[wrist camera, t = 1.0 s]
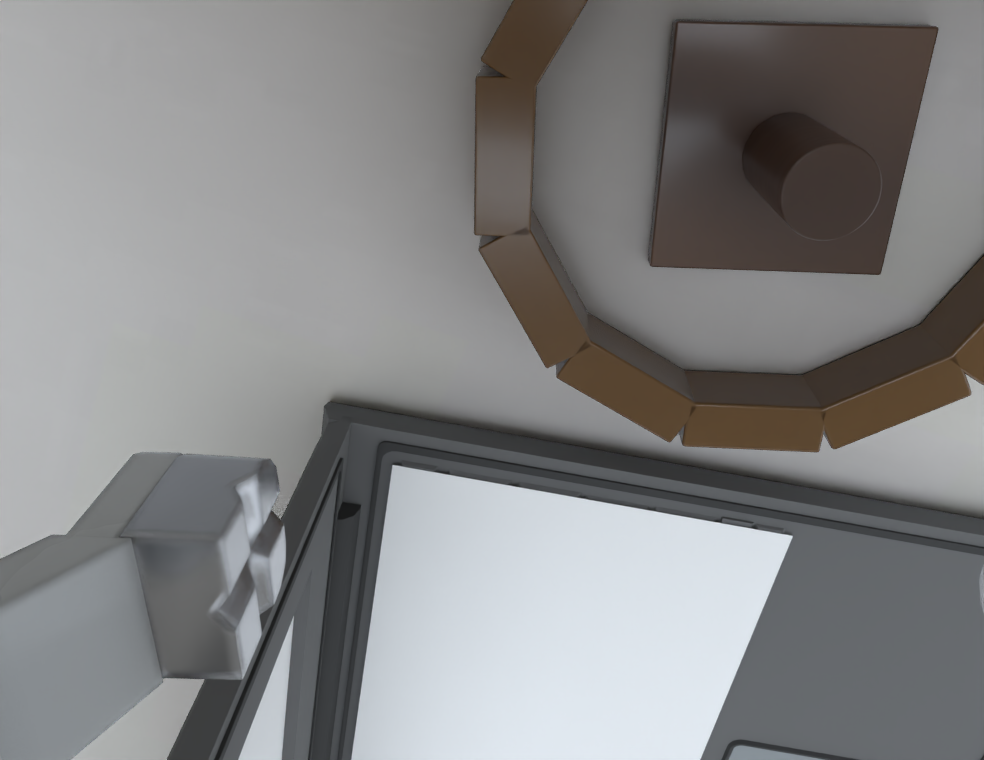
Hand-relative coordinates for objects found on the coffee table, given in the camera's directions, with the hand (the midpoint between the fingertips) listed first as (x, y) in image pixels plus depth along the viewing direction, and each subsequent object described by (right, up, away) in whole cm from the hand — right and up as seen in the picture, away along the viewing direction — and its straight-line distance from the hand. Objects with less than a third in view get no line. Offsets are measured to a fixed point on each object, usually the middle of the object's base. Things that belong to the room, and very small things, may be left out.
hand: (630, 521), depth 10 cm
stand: (+7, +8, +15) cm, 19 cm away
